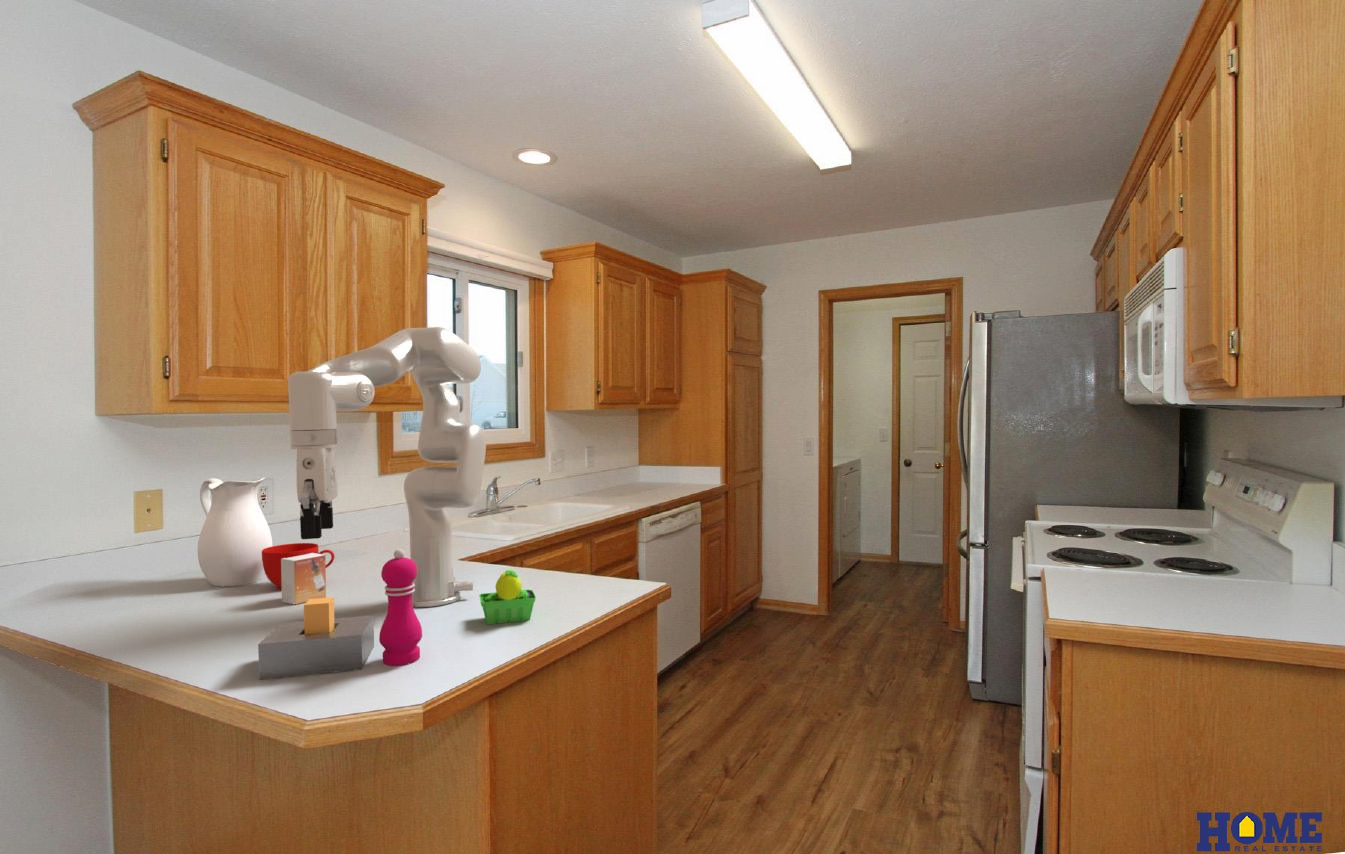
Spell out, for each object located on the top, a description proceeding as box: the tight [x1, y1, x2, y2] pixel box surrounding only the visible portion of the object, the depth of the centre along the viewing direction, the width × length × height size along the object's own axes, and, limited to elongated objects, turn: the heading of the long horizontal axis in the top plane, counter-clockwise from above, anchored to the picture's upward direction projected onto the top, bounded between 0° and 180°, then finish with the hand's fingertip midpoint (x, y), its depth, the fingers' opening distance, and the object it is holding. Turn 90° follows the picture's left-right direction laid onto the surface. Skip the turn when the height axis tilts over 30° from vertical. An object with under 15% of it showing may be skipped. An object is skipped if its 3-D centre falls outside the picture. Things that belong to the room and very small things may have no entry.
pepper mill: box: [378, 548, 423, 667], centre depth 123 cm, size 7×7×20 cm
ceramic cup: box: [262, 542, 335, 590], centre depth 179 cm, size 13×17×10 cm
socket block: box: [257, 615, 375, 681], centre depth 123 cm, size 16×12×6 cm
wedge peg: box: [303, 596, 335, 634], centre depth 123 cm, size 4×4×11 cm
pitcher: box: [197, 477, 273, 587], centre depth 185 cm, size 24×17×28 cm
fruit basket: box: [478, 569, 537, 625], centre depth 146 cm, size 11×9×11 cm
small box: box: [281, 553, 327, 606], centre depth 164 cm, size 8×6×10 cm
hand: (317, 533), depth 125 cm, fingers open, 9 cm apart
